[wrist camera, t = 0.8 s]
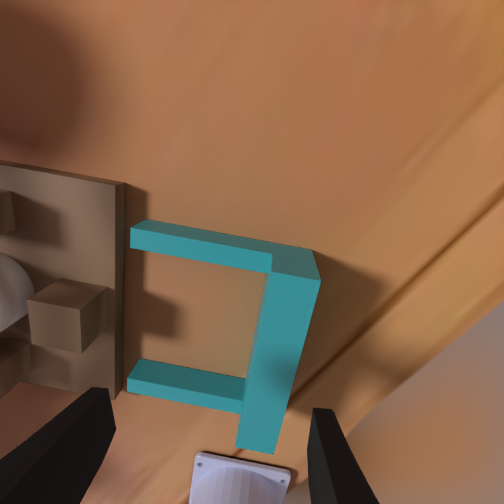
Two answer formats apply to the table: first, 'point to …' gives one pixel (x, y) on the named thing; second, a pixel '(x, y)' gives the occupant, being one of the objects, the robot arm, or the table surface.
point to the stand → (61, 279)
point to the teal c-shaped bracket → (265, 339)
